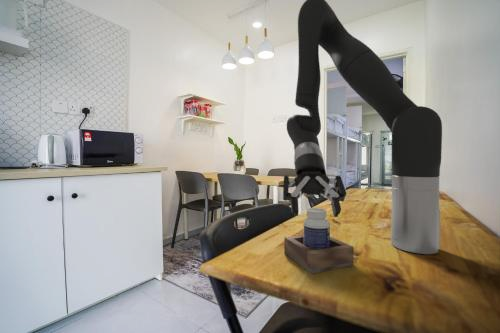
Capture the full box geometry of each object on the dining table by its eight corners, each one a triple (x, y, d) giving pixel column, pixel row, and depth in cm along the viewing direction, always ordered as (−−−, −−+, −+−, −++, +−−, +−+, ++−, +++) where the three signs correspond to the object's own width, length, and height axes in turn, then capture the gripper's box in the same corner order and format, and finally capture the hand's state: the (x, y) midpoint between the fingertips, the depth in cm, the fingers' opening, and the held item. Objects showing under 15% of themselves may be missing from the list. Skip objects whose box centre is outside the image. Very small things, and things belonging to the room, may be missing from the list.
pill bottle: (333, 260, 45) (333, 212, 45) (306, 260, 46) (306, 212, 45) (325, 250, 51) (325, 207, 51) (301, 250, 51) (301, 207, 51)
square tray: (320, 247, 54) (320, 232, 54) (353, 264, 45) (353, 246, 45) (284, 253, 51) (284, 237, 51) (311, 273, 42) (311, 254, 41)
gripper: (282, 152, 59) (283, 204, 48) (339, 151, 57) (354, 205, 46) (281, 172, 64) (283, 222, 53) (333, 171, 63) (346, 224, 51)
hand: (316, 214), depth 50 cm, fingers open, 8 cm apart
